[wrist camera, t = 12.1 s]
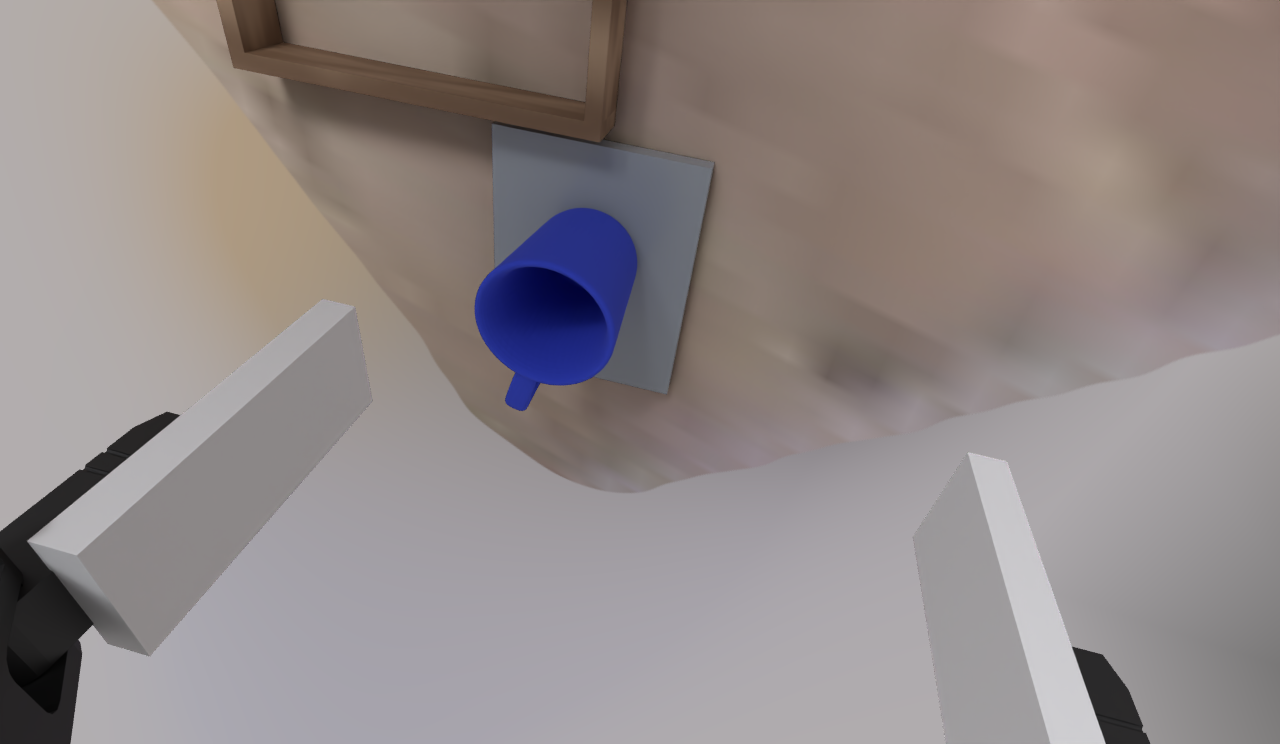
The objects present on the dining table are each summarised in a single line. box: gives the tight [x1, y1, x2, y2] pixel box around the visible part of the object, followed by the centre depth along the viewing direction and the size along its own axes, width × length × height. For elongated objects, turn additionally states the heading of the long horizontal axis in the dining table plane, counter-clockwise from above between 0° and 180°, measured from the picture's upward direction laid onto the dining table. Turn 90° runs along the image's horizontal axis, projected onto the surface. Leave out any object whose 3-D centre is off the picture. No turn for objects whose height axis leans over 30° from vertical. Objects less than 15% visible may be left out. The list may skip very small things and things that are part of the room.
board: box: [492, 121, 715, 394], centre depth 44 cm, size 18×14×1 cm
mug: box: [475, 208, 637, 411], centre depth 40 cm, size 8×12×10 cm
